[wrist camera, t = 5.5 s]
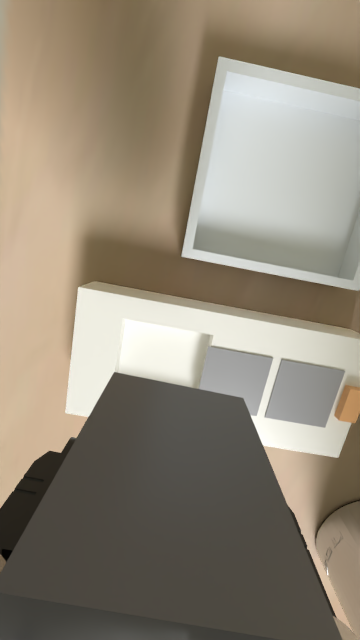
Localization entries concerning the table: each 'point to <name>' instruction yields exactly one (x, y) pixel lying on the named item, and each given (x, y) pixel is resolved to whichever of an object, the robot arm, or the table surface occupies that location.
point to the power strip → (221, 361)
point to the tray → (279, 176)
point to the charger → (163, 531)
